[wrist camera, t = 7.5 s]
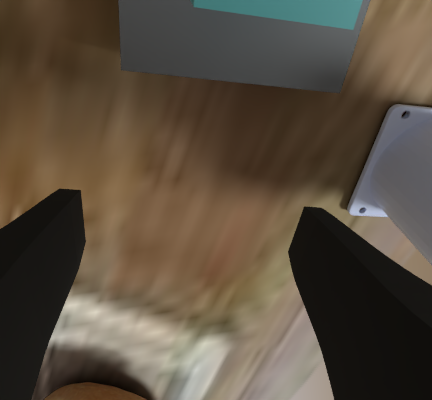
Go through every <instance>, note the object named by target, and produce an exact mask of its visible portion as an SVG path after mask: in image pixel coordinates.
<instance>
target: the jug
mask: <svg viewBox="0 0 432 400" xmlns="http://www.w3.org/2000/svg"><path fill="white" fill-rule="evenodd" d="M44 400H146V399H145V398H143V397H141V396H138V395H136V394H134V393H131V392H127V391H124V390H122V389H120V388H117V387H114V386H109V385H102V384H97V383H91V382H84V383H76V384H70V385H66V386H63V387H61V388H59V389H57V390H55V391H54V392H53V393H52V394H50V395H49V396H47V397H46V398H45V399H44Z"/></svg>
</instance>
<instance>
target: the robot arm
mask: <svg viewBox="0 0 432 400" xmlns="http://www.w3.org/2000/svg"><path fill="white" fill-rule="evenodd" d="M405 111H406V114H405V115H404V116H403V117H401V116H402V114H403V112H405ZM361 208H363V209H361ZM360 209H361V210H360ZM347 210H348V212H349V213H350V214H351V215H357V216H377V217H389V218H390V219H391V220H392V221H393V222H394V224H395V225H396V226H397V227H398V228H399V229H400V230H401V231H402V233H403V234H404V235H405V236H406V237H407V238H408V239H409V240H410V242H411V243H412V244H413V245H414V246H415V247H416V248H417V249H418V251H419V252H420V253H421V254H422V255H423V256H424V257H425V258H426V259H427V261H428V262H429V263H430V264H431V265H432V108H431V107H422V106H412V105H402V104H395V105H393V106H392V107H390V108H389V110H388V112H387V114H386V116H385V119H384V121H383V123H382V126H381V128H380V131H379V133H378V135H377V138H376V140H375V143H374V145H373V147H372V150H371V152H370V154H369V157H368V159H367V162H366V164H365V166H364V169H363V171H362V174H361V176H360V178H359V181H358V183H357V186H356V188H355V190H354V193H353V195H352V197H351V200H350V202H349V205H348V207H347ZM85 242H86V240H85V229H84V219H83V209H82V199H81V190H70V189H58V190H57V191H55V192H54V193H52V194H51V195H49V196H48V197H47V198H45V199H44V200H42V201H41V202H39V203H38V204H37V205H35V206H34V207H32V208H31V209H30V210H28V211H27V212H25V213H24V214H22V215H21V216H19V217H18V218H17V219H15V220H14V221H12V222H11V223H9V224H8V225H6V226H5V227H3V228H1V229H0V400H31V399H32V395H33V392H34V388H35V385H36V381H37V378H38V375H39V371H40V368H41V365H42V361H43V358H44V355H45V351H46V349H47V346H48V343H49V340H50V338H51V335H52V333H53V330H54V328H55V325H56V323H57V321H58V318H59V316H60V313H61V311H62V309H63V306H64V304H65V301H66V299H67V297H68V294H69V292H70V289H71V287H72V284H73V282H74V279H75V277H76V274H77V272H78V269H79V266H80V262H81V258H82V254H83V250H84V246H85ZM288 254H289V258H290V263H291V268H292V272H293V276H294V279H295V282H296V285H297V287H298V290H299V293H300V295H301V298H302V300H303V303H304V306H305V308H306V311H307V313H308V316H309V318H310V321H311V324H312V326H313V329H314V331H315V334H316V336H317V339H318V342H319V345H320V348H321V351H322V354H323V358H324V362H325V365H326V369H327V373H328V376H329V380H330V384H331V388H332V392H333V396H334V400H432V285H430V284H428V283H427V282H425V281H423V280H422V279H420V278H418V277H417V276H415V275H414V274H412V273H411V272H409V271H408V270H406V269H404V268H403V267H402V266H400V265H399V264H397V263H396V262H394V261H393V260H391V259H390V258H389V257H387V256H386V255H384V254H383V253H382V252H380V251H379V250H377V249H376V248H375V247H373V246H372V245H371V244H369V243H368V242H367V241H365V240H364V239H363V238H361V237H360V236H359V235H358V234H356V233H355V232H354V231H352V230H351V229H350V228H349V227H347V226H346V225H345V224H343V223H342V222H341V221H339V220H338V219H337V218H335V217H334V216H333V215H331V214H330V213H328V212H327V211H326V210H324V209H322V208H317V207H304V209H303V212H302V214H301V217H300V220H299V223H298V226H297V228H296V231H295V234H294V237H293V239H292V242H291V245H290V248H289V251H288Z"/></svg>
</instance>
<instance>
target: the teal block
mask: <svg viewBox="0 0 432 400" xmlns="http://www.w3.org/2000/svg"><path fill="white" fill-rule="evenodd" d="M190 1H191V3H192V5H193V7H197V8H204V9H210V10H217V11H224V12H231V13H238V14H245V15H252V16H259V17H266V18H273V19H280V20H287V21H294V22H301V23H308V24H315V25H322V26H329V27H336V28H343V29H350V30H353V29H354V26H355V23H356V20H357V17H358V14H359V10H360V7H361V4H362V1H363V0H190Z"/></svg>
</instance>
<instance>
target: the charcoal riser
mask: <svg viewBox="0 0 432 400" xmlns="http://www.w3.org/2000/svg"><path fill="white" fill-rule="evenodd" d="M118 1H119V27H120V54H121V70H124V71H133V72H143V73H152V74H162V75H171V76H181V77H190V78H200V79H209V80H219V81H228V82H238V83H247V84H257V85H266V86H276V87H285V88H295V89H304V90H313V91H323V92H332V93H340V92H341V88H342V85H343V82H344V79H345V76H346V73H347V70H348V67H349V64H350V61H351V58H352V55H353V52H354V49H355V46H356V43H357V39H358V36H359V33H360V30H361V27H362V24H363V21H364V18H365V15H366V12H367V9H368V6H369V3H370V0H363V1H362V4H361V7H360V10H359V14H358V17H357V20H356V23H355V26H354V29H353V30H350V29H343V28H336V27H329V26H322V25H315V24H308V23H301V22H294V21H287V20H280V19H273V18H266V17H259V16H252V15H245V14H238V13H231V12H224V11H217V10H210V9H204V8H197V7H193V5H192V3H191V1H190V0H118Z"/></svg>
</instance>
